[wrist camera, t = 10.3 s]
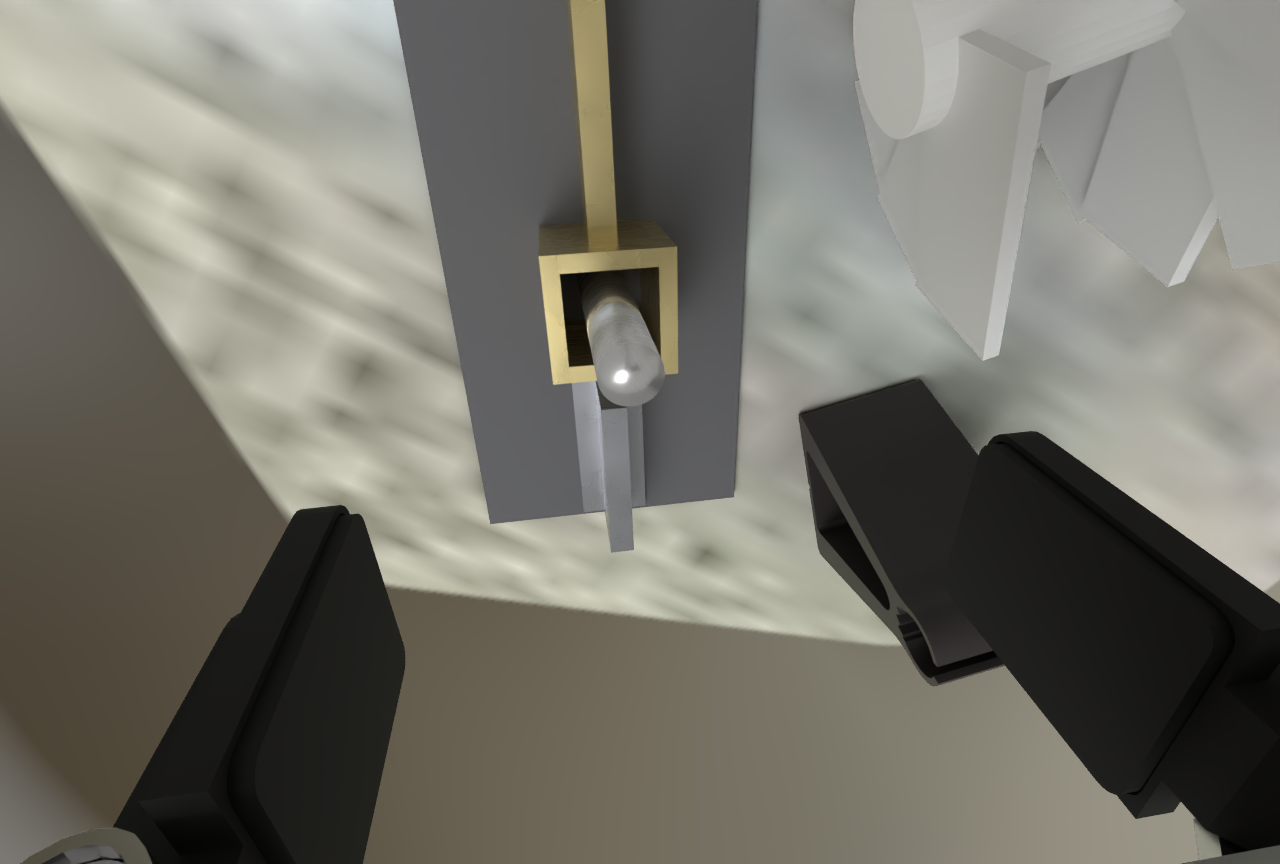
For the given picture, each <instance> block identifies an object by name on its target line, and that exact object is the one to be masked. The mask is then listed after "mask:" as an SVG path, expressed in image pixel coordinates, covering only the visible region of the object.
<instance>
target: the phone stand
mask: <svg viewBox="0 0 1280 864" xmlns="http://www.w3.org/2000/svg"><path fill="white" fill-rule="evenodd" d="M799 423H800V429H801V436H802V443H803V450H804V456H805V463H806V470H807V477H808V483H809V485H810V489H809V490H810V497H811V503H812V510H813V517H814V524H815V530H816V537H817V544H818V549H819V551H820V554H821V555H822V557H823V558H824V559H825V560H826V561H827V562H828V563H829V564H830V565H831V566H832V567H833V568H834V570H835V571H836V572H837V573H838V574H839V575H840V576H841V577H842V578H843V579H844V580H845V581H846V582H847V584H848V585H849V586H850V587H851V588H852V589H853V590H854V591H855V592H856V593H857V594H858V595H859V597H860V598H861V599H862V600H863V601H864V602H865V603H866V604H867V605H868V606H869V607H870V608H871V610H872V611H873V612H874V613H875V614H876V615H877V616H878V617H879V618H880V619H881V620H882V621H883V623H884V624H885V625H886V626H887V627H888V628H889V629H890V630H891V631H892V632H893V633H894V635H895V636H896V637H897V638H898V640H899V641H900V643H901V644H902V645H903V647H904V649H905V650H906V652H907V653H908V655H909V657H910V658H911V660H912V662H913V664H914V665H915V667H916V668H917V670H918V672H919V673H920V674H921V676H922V677H923V678H924V679H925V680H926V681H927V682H928V683H929V684H930V685H932V686H938V685H941V684H945V683H948V682H952V681H955V680H958V679H962V678H965V677H968V676H972V675H975V674H978V673H982V672H985V671H988V670H992V669H995V668H999V667H1002V666H1005V665H1004V663H1003V662H1002V661H1001V660H1000V658H999V657H998V656H997V655H996V653H995V652H994V651H993V650H992V648H991V647H990V646H989V645H988V643H987V642H986V641H985V639H984V638H983V637H982V636H981V634H980V633H979V632H978V631H977V629H976V628H975V627H974V626H973V624H972V623H971V622H970V621H969V619H968V618H967V617H966V616H965V614H964V613H963V612H962V610H961V609H960V608H959V607H958V605H957V604H956V603H955V602H954V600H953V599H952V598H951V596H950V595H949V593H948V591H947V588H946V585H945V571H946V568H947V564H948V561H949V557H950V554H951V550H952V547H953V544H954V540H955V537H956V533H957V530H958V526H959V523H960V519H961V516H962V512H963V509H964V505H965V502H966V498H967V495H968V491H969V488H970V484H971V481H972V477H973V474H974V470H975V467H976V463H977V460H978V455H977V453H976V452H975V451H974V449H973V448H972V447H971V445H970V444H969V443H968V441H967V440H966V439H965V437H964V436H963V435H962V433H961V432H960V431H959V429H958V428H957V427H956V425H955V424H954V423H953V421H952V420H951V419H950V417H949V416H948V415H947V413H946V412H945V411H944V409H943V408H942V407H941V406H940V404H939V403H938V402H937V400H936V399H935V398H934V396H933V395H932V394H931V392H930V391H929V390H928V388H927V387H926V386H925V384H924V383H923V382H922V380H920V379H918V380H915V381H912V382H908V383H905V384H902V385H898V386H895V387H892V388H888V389H885V390H882V391H878V392H875V393H872V394H868V395H865V396H862V397H858V398H855V399H851V400H848V401H845V402H841V403H838V404H835V405H831V406H828V407H825V408H821V409H818V410H815V411H811V412H808V413H805V414H801V415H799Z"/></svg>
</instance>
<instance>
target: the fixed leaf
mask: <svg viewBox="0 0 1280 864" xmlns="http://www.w3.org/2000/svg"><path fill="white" fill-rule="evenodd" d="M577 281H578V287H579V292H580V297H581V302H582V307H583V312H584V317H585V322H586V327H587V332H588V337H589V342H590V347H591V352H592V357H593V363H594V368H595V373H596V378H597V381H590V382H579V383H572V391H573V401H574V412H575V422H576V433H577V444H578V454H579V465H580V475H581V486H582V497H583V507H584V512H591V511H600V510H605V515H606V522H607V528H608V535H609V541H610V547H611V552H620V551H628V550H634V542H633V522H632V507H636V506H645V505H646V502H645V474H644V445H643V417H642V404H644V403H646V402H648V401H649V400H651V399H652V398H653V397H654V396H656V394H657V393H658V392H659V391H660V389H661V387H662V385H663V382H664V378H665V368H664V364H663V362H662V359H661V357H660V355H659V353H658V351H657V348H656V346H655V344H654V342H653V340H652V337H651V335H650V333H649V331H648V329H647V326H646V324H645V322H644V320H643V317H642V315H641V313H640V311H639V309H638V306H637V304H636V302H635V300H634V298H633V295H632V293H631V291H630V289H629V287H628V284H627V282H626V280H625V278H624V276H623V273H622V271H621V270H609V271H595V272H581V273H577Z"/></svg>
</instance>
